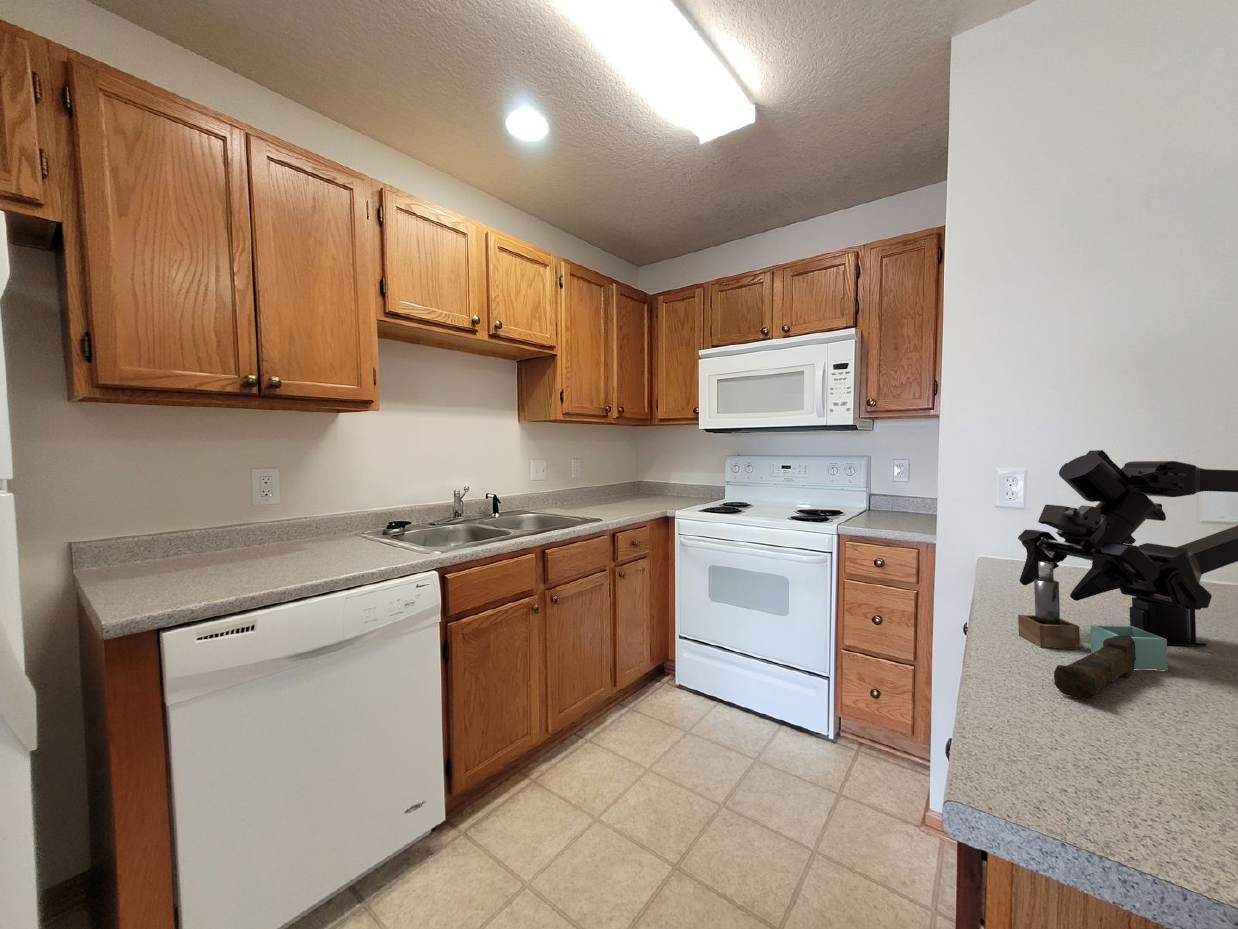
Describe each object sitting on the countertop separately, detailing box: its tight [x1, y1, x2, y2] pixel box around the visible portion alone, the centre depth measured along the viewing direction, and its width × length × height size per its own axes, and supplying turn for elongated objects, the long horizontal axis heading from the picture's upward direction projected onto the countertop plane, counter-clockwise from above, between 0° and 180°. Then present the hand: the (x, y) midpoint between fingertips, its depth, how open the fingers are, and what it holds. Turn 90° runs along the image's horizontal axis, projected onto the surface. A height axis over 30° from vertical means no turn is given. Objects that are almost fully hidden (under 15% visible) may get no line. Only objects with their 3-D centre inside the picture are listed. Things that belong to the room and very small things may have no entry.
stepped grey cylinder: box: [1033, 561, 1061, 625], centre depth 77 cm, size 3×3×13 cm
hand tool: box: [1053, 635, 1136, 701], centre depth 63 cm, size 19×4×5 cm, turn 115°
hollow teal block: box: [1090, 624, 1169, 671], centre depth 69 cm, size 5×5×4 cm
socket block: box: [1017, 614, 1081, 650], centre depth 77 cm, size 5×5×4 cm
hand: (1045, 590), depth 77 cm, fingers open, 9 cm apart
